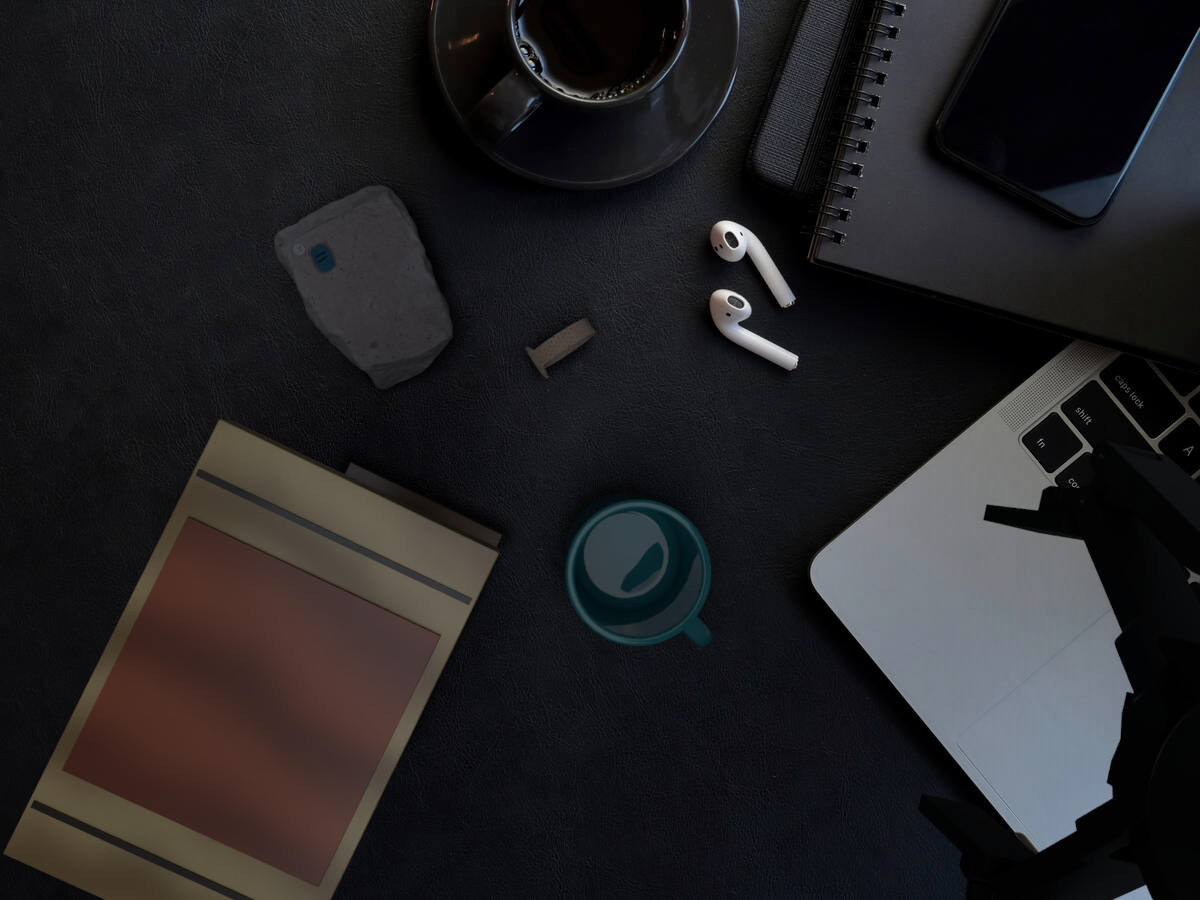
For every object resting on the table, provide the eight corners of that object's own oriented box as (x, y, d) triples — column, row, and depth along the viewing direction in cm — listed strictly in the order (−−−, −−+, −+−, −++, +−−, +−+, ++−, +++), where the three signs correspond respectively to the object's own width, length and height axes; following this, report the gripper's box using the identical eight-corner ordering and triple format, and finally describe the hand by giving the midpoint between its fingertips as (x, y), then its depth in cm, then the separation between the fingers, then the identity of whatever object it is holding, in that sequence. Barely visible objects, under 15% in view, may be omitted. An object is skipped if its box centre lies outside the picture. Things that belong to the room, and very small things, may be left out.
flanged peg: (525, 351, 68) (523, 343, 63) (580, 316, 68) (582, 305, 63) (545, 382, 68) (545, 376, 63) (600, 346, 68) (604, 338, 63)
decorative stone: (277, 245, 67) (251, 225, 61) (394, 184, 68) (379, 159, 62) (365, 407, 68) (347, 404, 62) (481, 346, 68) (474, 337, 62)
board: (299, 964, 41) (288, 986, 39) (22, 839, 40) (-1, 856, 38) (501, 549, 41) (499, 553, 39) (231, 419, 40) (217, 418, 39)
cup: (651, 669, 68) (671, 711, 57) (537, 552, 68) (534, 572, 57) (738, 582, 69) (775, 607, 58) (625, 466, 68) (640, 468, 57)
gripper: (1433, 1426, 22) (998, 945, 43) (1657, 382, 22) (1116, 417, 43) (1128, 1368, 21) (842, 912, 43) (1361, 309, 22) (962, 380, 43)
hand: (979, 662), depth 43 cm, fingers open, 13 cm apart
